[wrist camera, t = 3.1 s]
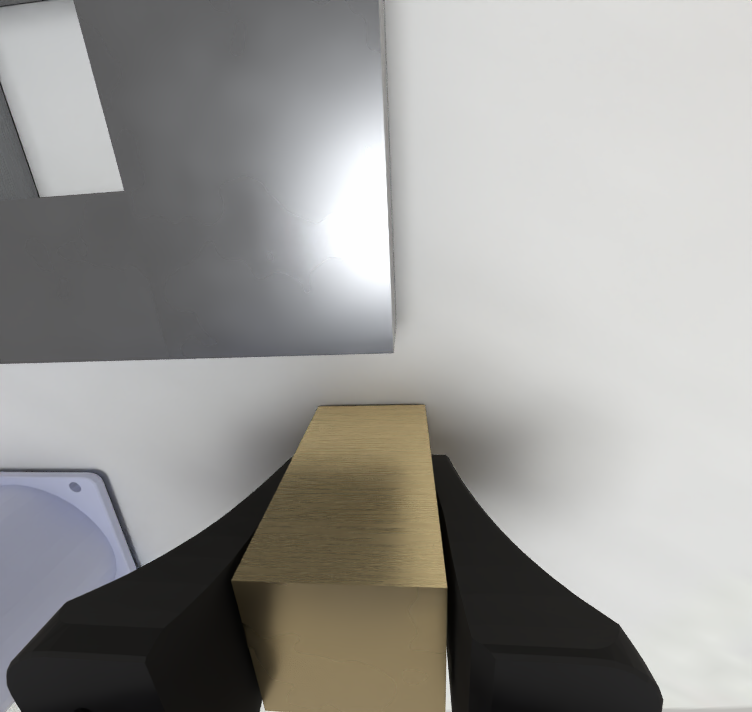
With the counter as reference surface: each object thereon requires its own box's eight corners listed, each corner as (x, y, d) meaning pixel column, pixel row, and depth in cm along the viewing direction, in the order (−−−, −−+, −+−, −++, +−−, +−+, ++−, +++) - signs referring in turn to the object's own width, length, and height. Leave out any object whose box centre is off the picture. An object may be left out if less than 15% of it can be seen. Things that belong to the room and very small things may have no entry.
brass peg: (329, 492, 14) (265, 710, 8) (318, 406, 13) (231, 580, 6) (425, 493, 14) (445, 723, 7) (425, 405, 13) (447, 587, 6)
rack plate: (-60, 341, 14) (-192, 370, 11) (-311, -171, 9) (-668, -373, 6) (396, 325, 12) (393, 355, 9) (372, -314, 7) (349, -692, 4)
